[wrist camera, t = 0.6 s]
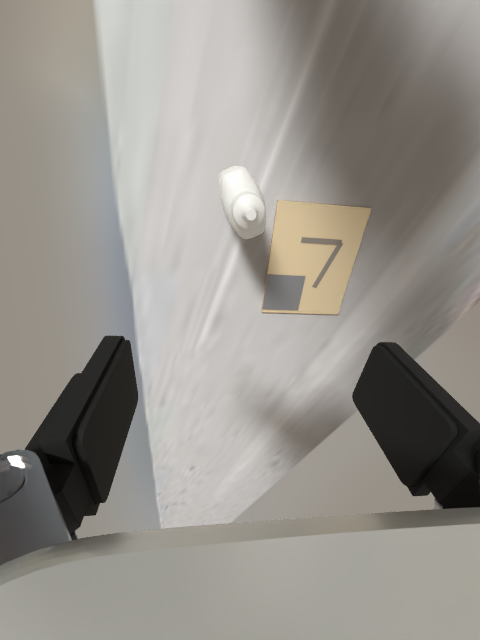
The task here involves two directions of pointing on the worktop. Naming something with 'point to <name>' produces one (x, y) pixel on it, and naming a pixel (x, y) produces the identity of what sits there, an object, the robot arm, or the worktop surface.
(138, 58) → the worktop surface
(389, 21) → the worktop surface
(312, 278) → the card
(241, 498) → the worktop surface
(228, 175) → the eye dropper bottle
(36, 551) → the robot arm
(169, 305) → the worktop surface
